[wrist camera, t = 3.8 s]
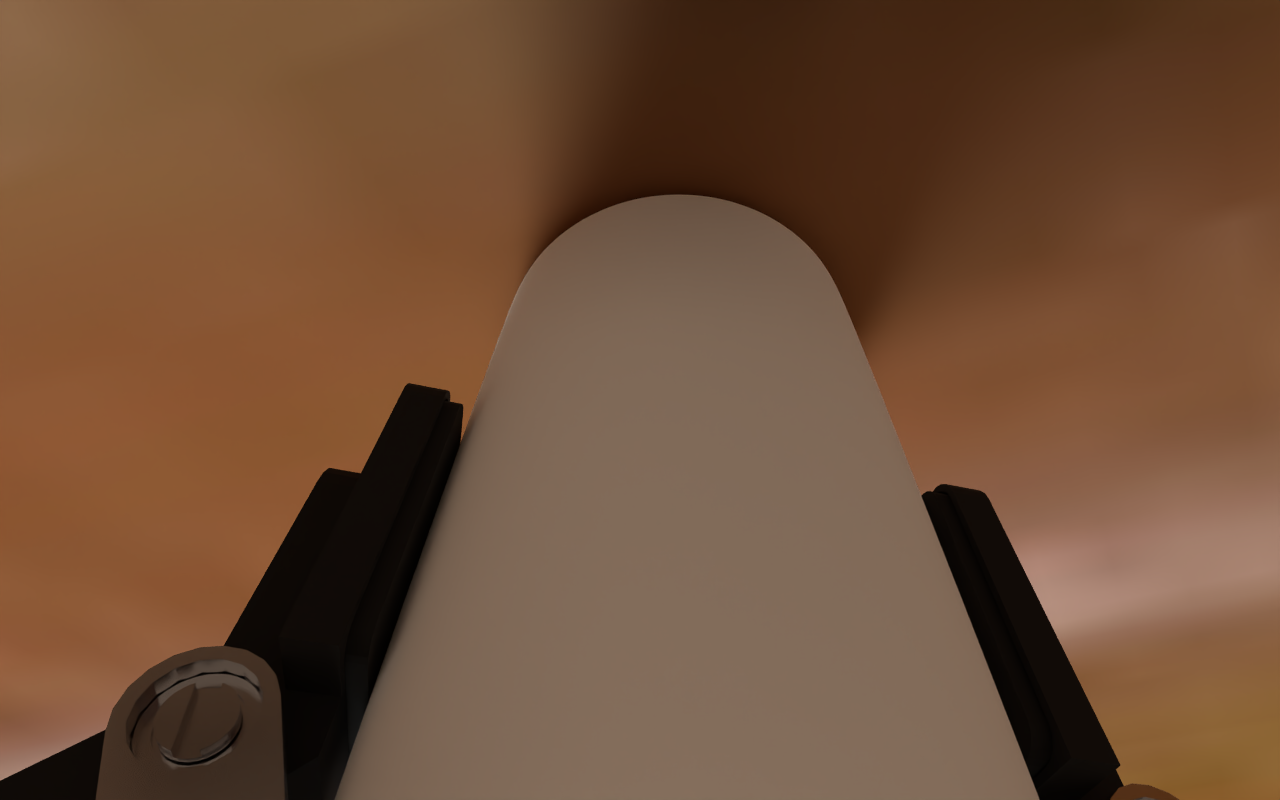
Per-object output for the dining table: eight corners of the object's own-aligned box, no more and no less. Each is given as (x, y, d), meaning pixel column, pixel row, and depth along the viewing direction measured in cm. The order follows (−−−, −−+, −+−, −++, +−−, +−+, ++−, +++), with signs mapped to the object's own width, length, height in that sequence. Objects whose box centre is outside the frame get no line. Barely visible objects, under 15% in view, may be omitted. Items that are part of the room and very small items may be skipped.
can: (443, 270, 14) (-115, 1288, 4) (779, 117, 12) (1277, 1296, 2) (603, 503, 17) (515, 1356, 7) (882, 413, 15) (1255, 1383, 6)
